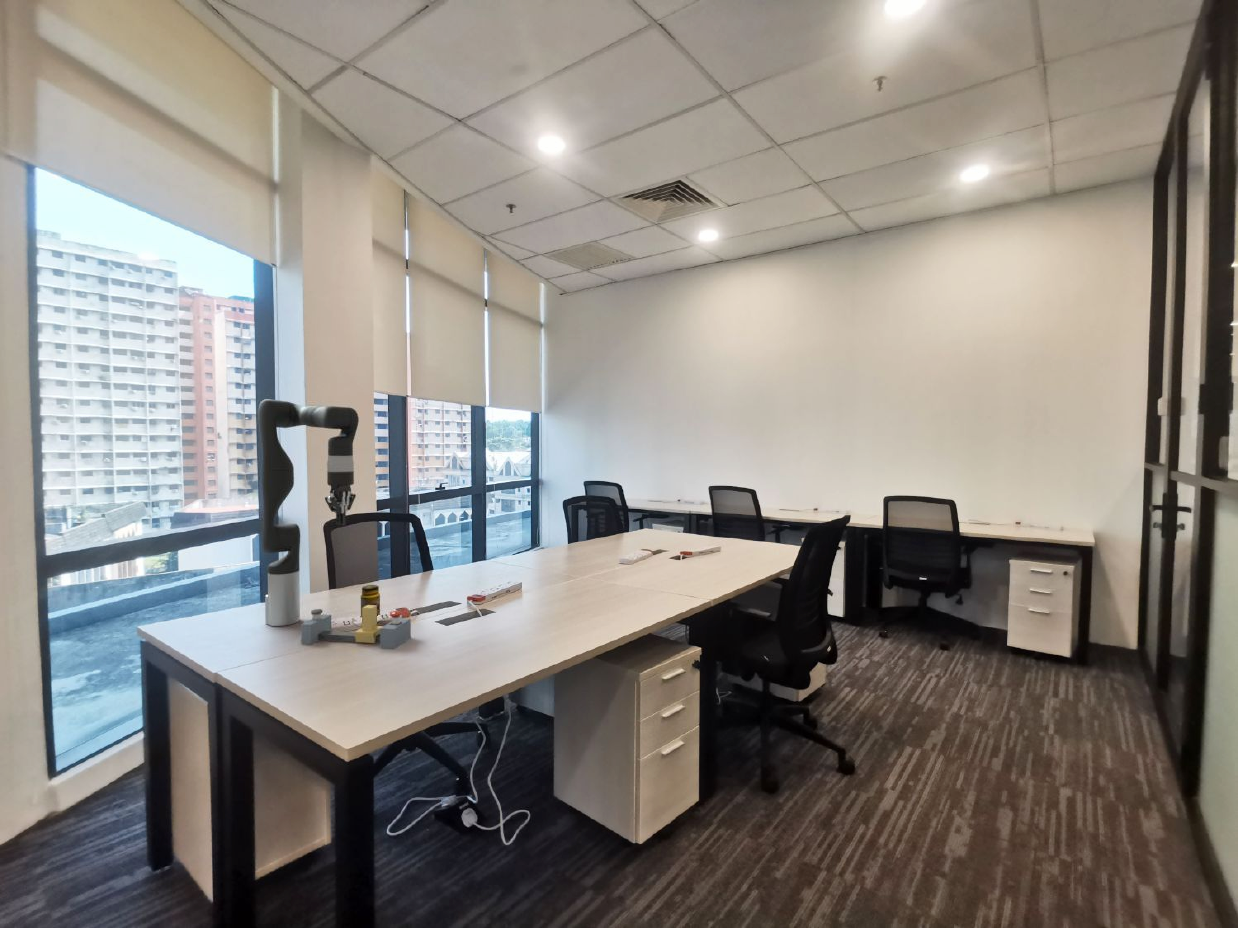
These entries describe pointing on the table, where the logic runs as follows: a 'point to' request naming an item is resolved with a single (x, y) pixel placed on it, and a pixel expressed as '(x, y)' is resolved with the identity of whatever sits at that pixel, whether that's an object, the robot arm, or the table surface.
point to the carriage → (368, 625)
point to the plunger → (395, 617)
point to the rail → (341, 637)
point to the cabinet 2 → (395, 634)
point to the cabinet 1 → (315, 626)
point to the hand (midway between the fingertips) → (341, 524)
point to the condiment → (370, 597)
